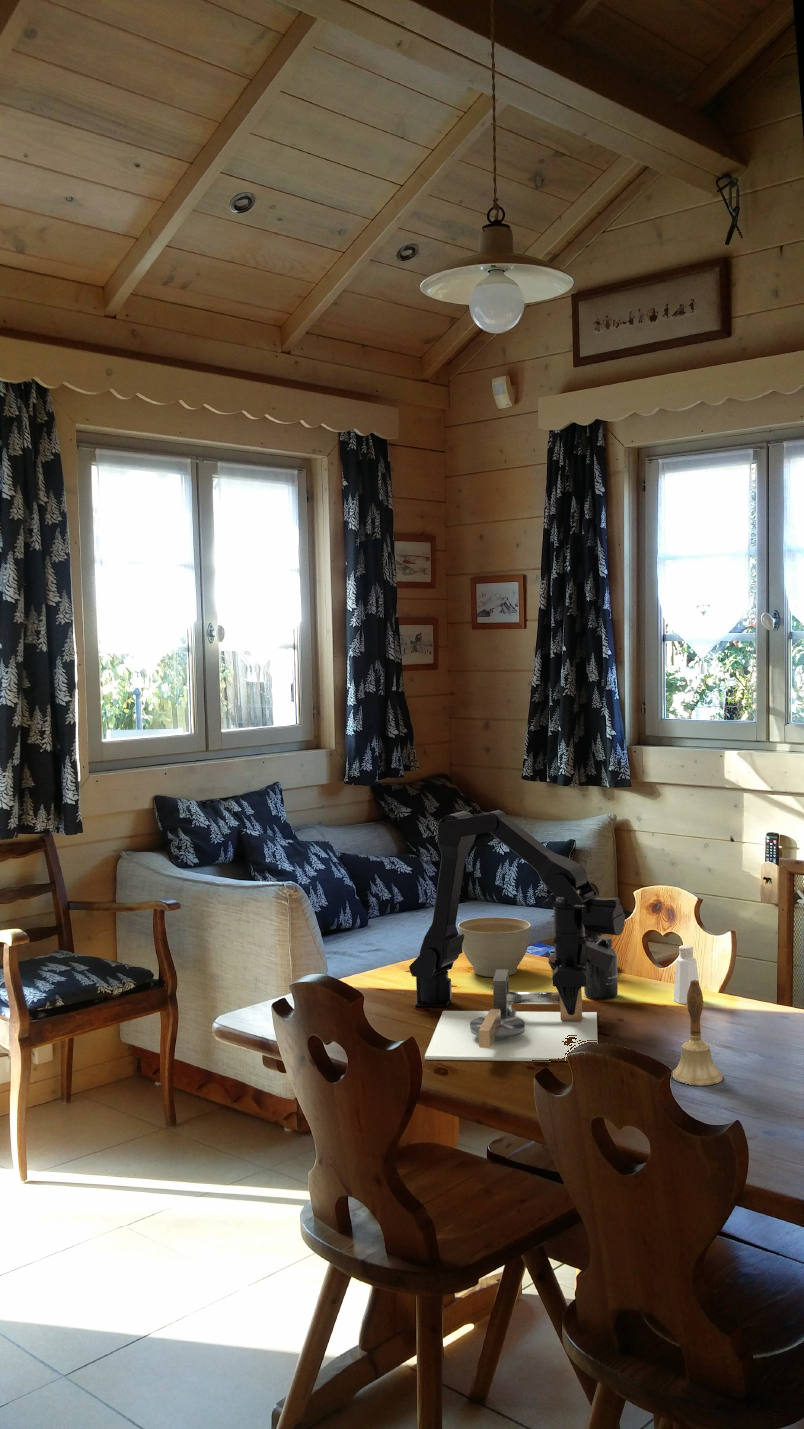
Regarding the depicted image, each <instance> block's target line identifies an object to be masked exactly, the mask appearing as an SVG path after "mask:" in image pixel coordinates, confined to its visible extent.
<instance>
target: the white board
mask: <svg viewBox="0 0 804 1429" xmlns="http://www.w3.org/2000/svg"><path fill="white" fill-rule="evenodd" d="M489 1011H490V1010H483V1011H482V1010H443V1011H442V1013H441V1016H440V1018H439V1021H438V1022H437V1025H436V1027H435V1030H434V1032H433V1035H432V1037H431V1040H430V1043H429V1045H428V1047H427V1049H426V1052H425V1054H424V1060H434V1061H436V1060H444V1061H451V1060H452V1061H499V1062H500V1061H501V1062H503V1061H505V1062H506V1061H507V1062H508V1061H509V1062H511V1061H512V1062H513V1061H514V1062H533V1061H532V1060H549V1059H558V1058H559V1059H562V1058H564V1057H565V1061H566V1057H567V1054H568V1053H569V1052H571V1051H572V1050H574V1048H576V1047H578V1046H579V1045H581V1044H584V1043H587V1042H597V1043H598V1016H597V1015H598V1012H597V1011H582V1021H562V1020H561V1012H560V1011H517V1010H515V1014H514V1017H518V1018H520V1019H522V1020H523V1021H524V1022H525V1031H524V1032H523V1033H522V1034H520V1035H517V1036H513V1037H508V1038H494V1040H493V1042H492V1044H491V1046H490V1048H479V1036H477V1035H474V1034H473V1033H471V1031H470V1022H471V1021H472V1020H473V1019H476V1018H478V1017H482V1016H487V1015H488V1013H489ZM568 1035H577V1036H568ZM567 1036H568V1037H567ZM569 1037H575V1038H577V1039H576V1040H575V1039H572V1041H573V1042H576V1043H570V1044H569V1045H571V1044H572V1046H569V1045H568V1046H567V1045H564V1042H565V1041H567V1039H565V1038H569ZM579 1040H581V1041H579ZM587 1040H597V1041H587ZM562 1041H564V1042H562ZM577 1041H578V1042H577ZM582 1041H586V1042H582ZM580 1042H582V1043H580ZM578 1043H580V1044H578ZM566 1044H567V1043H566ZM574 1045H576V1046H574ZM573 1046H574V1047H573ZM571 1047H573V1048H572V1049H571V1050H570V1048H571ZM568 1050H569V1052H567V1051H568ZM565 1053H567V1054H566V1055H565Z"/></svg>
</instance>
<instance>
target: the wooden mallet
mask: <svg viewBox="0 0 804 1429" xmlns="http://www.w3.org/2000/svg"><path fill="white" fill-rule="evenodd" d="M582 993H583V992H582V987H581V988H580V989H579V991H578V996H577V1002H576V1007H575V1013H574V1015H568V1013H567V1010H566V1008H565V1006H564V1004H563V1001H562V999H561V997H560V995H559V993H558V991H556V992H555V991H549V992H548V991H509V992H507V1013H511V1012H512V1010H511V1008H512V1004H513V1005H519V1004H520V1005H522V1004H524V1005H559V1006H560V1008H559V1009H560V1011H559V1012H561V1020H562V1021H582V1012H583V1002H582V1001H583V996H582Z"/></svg>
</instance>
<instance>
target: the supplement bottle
mask: <svg viewBox="0 0 804 1429" xmlns="http://www.w3.org/2000/svg"><path fill="white" fill-rule="evenodd" d="M601 938H602V939H605V940H607V941H608V944H609V949H611V948H612V949H613V939H612V937H611V936H608V935H601V936H591V937H589V938H588V942H591V943H593V942H595V944H596V943H597V942H598V941H599V940H600V939H601ZM584 968H586V973H587V986H585V987H583V989H584V990H583V991H584V992H583V993H584V995H585V997H586V998H588V999H591V1000H599V1001H602V1000H603V1001H605V1000H613V999H615V998H617V996H618V993H619V992H618V991H619V990H618V989H619V988H618V986H619V984H618V980H619V979H618V978H619V977H618V955H617V952H615V959H614V961H613V964H612V967H611V970H610V971H606V970H603V968H601V967H598V966H595V965H592V964H590V963H588V962H587V966H584Z"/></svg>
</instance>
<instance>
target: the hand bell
mask: <svg viewBox="0 0 804 1429" xmlns="http://www.w3.org/2000/svg"><path fill="white" fill-rule="evenodd" d="M686 1005H687V1011H688V1014H689V1018H690V1025H689V1026H690V1027H689V1028H690V1031H689V1032H690V1035H689V1037H690V1038H689V1040H688V1041H685V1042H684V1043H683V1044H682V1046H681V1052H680V1054H681V1055H680V1058H679V1059H680V1060H679V1062H678V1064H677V1066H676V1068H674V1069H673V1070H672V1072H673V1078H674V1077H675V1080H676V1079H677V1081H680V1082H683V1083H685V1084H684V1085H687V1084H689V1085H688V1086H698V1087H699V1086H701V1087H703V1086H711V1085H715V1084H719V1083H721V1082H722V1081H723V1079H724V1076H723V1074H722V1072H721V1071H720V1070H719V1069H718V1068H717V1067H716V1065H715V1063H714V1061H713V1057H712V1053H711V1046H710V1045H709V1043H707V1042H705V1041H703V1040H702V1031H701V1016H702V1013H703V1006H704V996H703V991H702V988H701V986H700V980H699V981H697V980H691V982H690V986H689V989H688V993H687V1004H686ZM675 1080H674V1081H675ZM677 1081H676V1082H677Z"/></svg>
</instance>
